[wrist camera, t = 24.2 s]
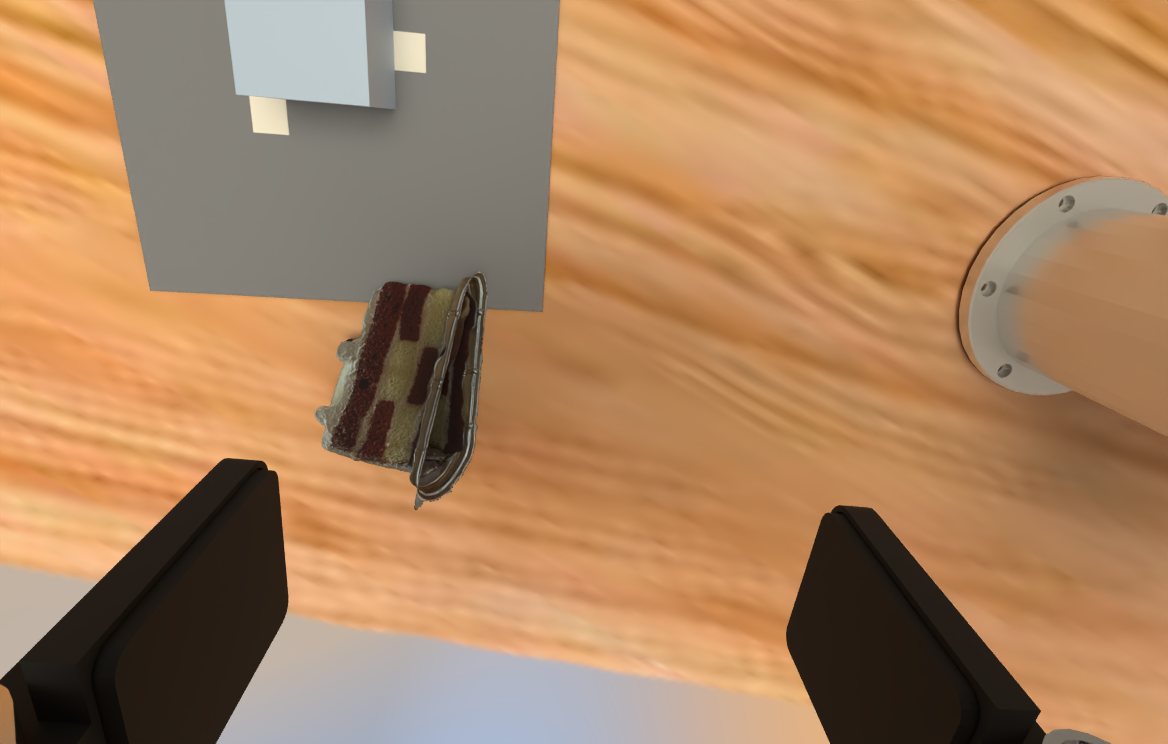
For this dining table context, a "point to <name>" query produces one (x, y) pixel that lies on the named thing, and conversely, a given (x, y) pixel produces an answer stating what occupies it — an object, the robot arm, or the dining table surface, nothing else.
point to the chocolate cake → (412, 384)
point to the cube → (314, 50)
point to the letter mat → (340, 157)
